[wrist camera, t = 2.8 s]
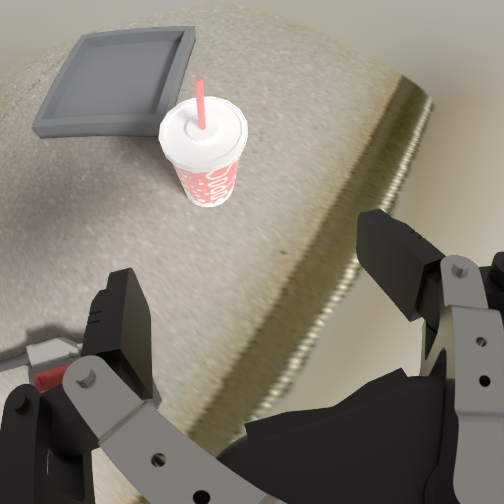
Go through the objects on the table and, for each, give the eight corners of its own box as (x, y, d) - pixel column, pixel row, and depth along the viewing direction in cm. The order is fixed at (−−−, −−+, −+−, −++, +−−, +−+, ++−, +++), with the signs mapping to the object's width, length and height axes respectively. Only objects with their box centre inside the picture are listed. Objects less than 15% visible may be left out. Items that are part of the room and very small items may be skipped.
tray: (41, 138, 29) (31, 127, 26) (86, 47, 32) (82, 35, 30) (166, 136, 30) (163, 122, 27) (195, 40, 33) (194, 26, 31)
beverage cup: (181, 221, 28) (147, 133, 14) (171, 163, 29) (141, 57, 15) (248, 207, 29) (267, 110, 15) (234, 150, 30) (240, 40, 16)
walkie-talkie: (143, 309, 26) (-11, 360, 23) (127, 306, 22) (-36, 362, 19) (178, 404, 24) (16, 437, 22) (169, 417, 20) (-7, 447, 17)
